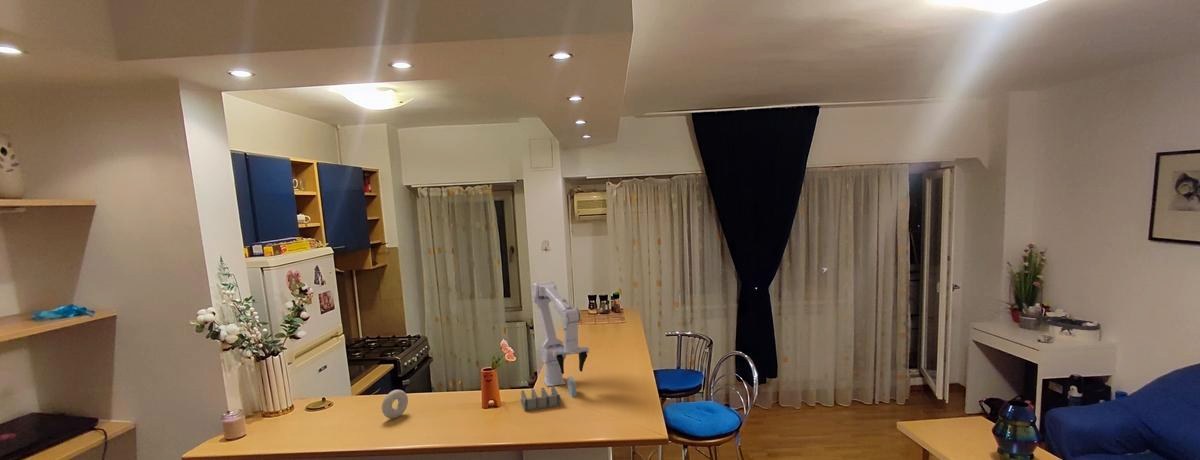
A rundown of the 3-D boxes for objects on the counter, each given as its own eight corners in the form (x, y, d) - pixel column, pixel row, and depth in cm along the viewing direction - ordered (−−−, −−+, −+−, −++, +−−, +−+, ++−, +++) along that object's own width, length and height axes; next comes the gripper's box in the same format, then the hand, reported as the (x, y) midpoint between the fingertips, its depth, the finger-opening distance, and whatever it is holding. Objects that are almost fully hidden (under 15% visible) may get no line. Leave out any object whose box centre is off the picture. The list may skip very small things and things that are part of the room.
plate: (567, 391, 191) (567, 376, 191) (572, 390, 192) (571, 376, 192) (572, 397, 185) (571, 382, 185) (576, 396, 185) (576, 382, 185)
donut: (404, 411, 174) (403, 385, 174) (410, 413, 172) (409, 386, 172) (380, 421, 166) (379, 394, 165) (386, 424, 164) (385, 396, 163)
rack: (520, 401, 182) (520, 390, 182) (554, 396, 186) (554, 386, 186) (524, 411, 172) (524, 400, 172) (560, 405, 177) (560, 395, 176)
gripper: (555, 343, 182) (556, 377, 182) (591, 339, 186) (591, 372, 186) (551, 338, 188) (552, 371, 189) (586, 335, 193) (586, 367, 193)
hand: (571, 371), depth 188 cm, fingers open, 7 cm apart
